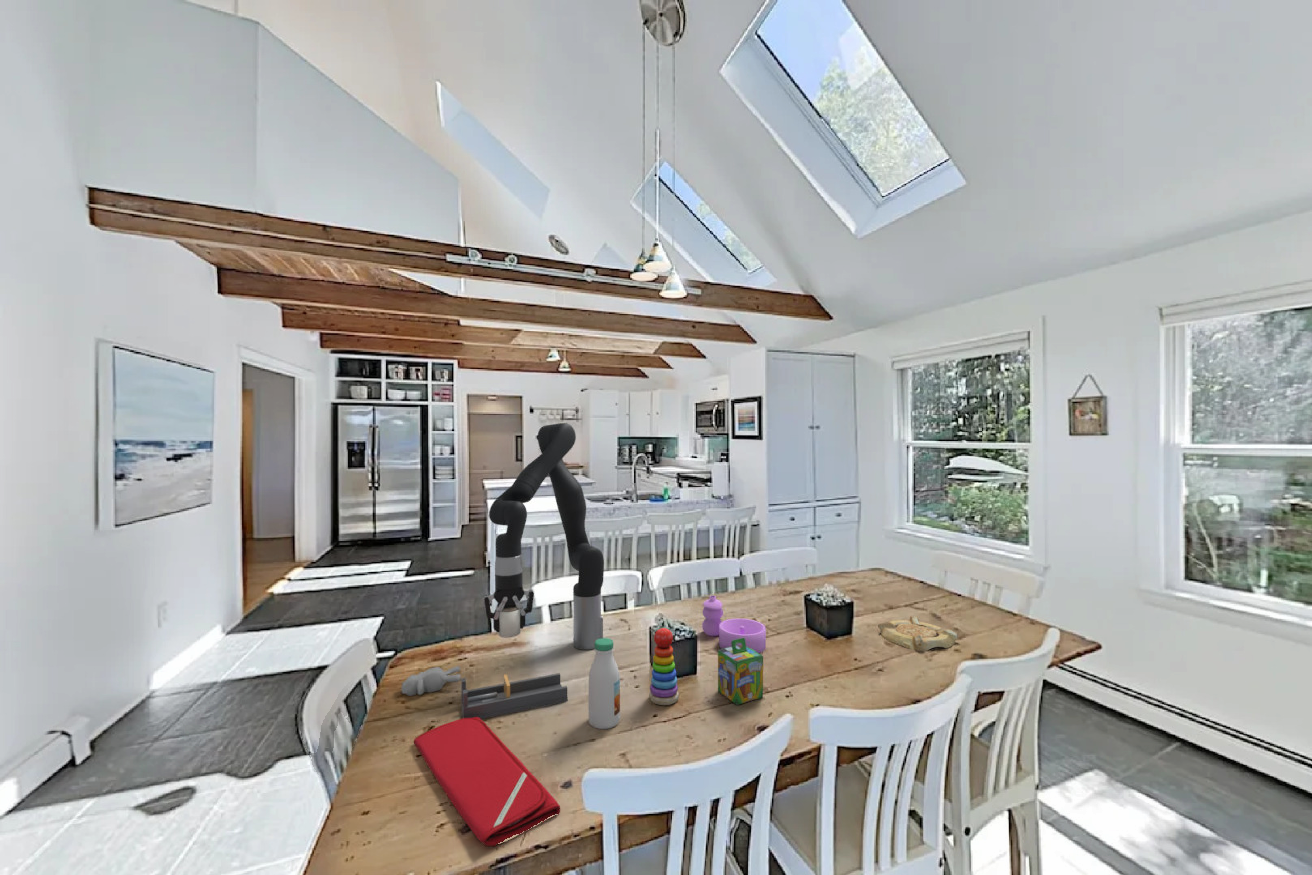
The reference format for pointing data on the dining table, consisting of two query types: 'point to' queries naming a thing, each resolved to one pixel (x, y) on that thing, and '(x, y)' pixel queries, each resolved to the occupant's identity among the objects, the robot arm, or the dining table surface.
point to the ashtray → (917, 634)
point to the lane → (514, 696)
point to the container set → (732, 627)
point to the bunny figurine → (429, 681)
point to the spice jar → (509, 622)
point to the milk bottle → (604, 687)
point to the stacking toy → (663, 670)
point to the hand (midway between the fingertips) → (509, 629)
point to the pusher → (494, 695)
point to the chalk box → (740, 673)
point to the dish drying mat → (485, 780)
